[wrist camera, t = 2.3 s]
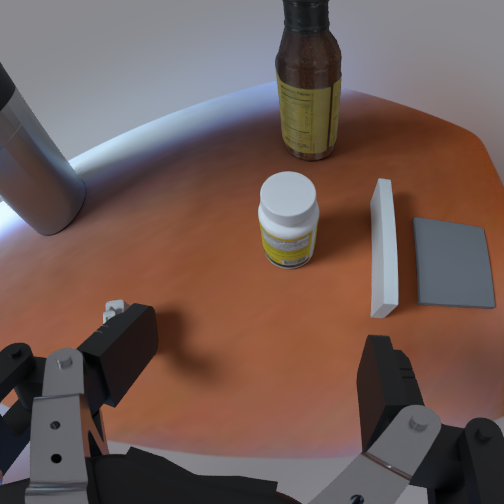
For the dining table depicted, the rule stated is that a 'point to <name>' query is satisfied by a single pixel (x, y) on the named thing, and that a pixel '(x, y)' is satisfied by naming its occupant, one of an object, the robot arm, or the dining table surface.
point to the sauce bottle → (308, 80)
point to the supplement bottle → (288, 219)
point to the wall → (383, 251)
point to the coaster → (452, 265)
